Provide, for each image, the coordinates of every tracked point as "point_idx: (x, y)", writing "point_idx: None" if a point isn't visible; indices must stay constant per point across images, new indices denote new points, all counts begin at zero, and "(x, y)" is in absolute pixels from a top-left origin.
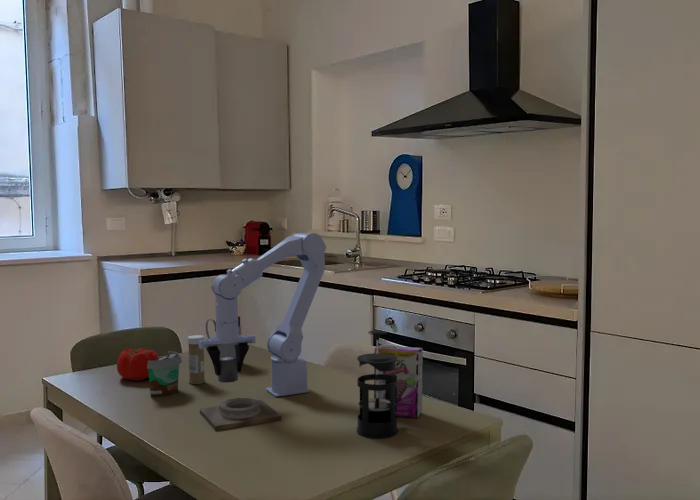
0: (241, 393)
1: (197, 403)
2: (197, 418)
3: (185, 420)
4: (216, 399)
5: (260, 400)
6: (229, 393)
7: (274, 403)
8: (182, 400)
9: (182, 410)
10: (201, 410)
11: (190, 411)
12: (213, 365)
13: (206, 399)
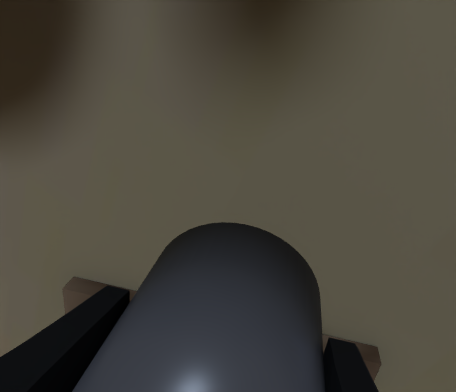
0: (414, 117)
1: (90, 143)
2: (54, 321)
3: (10, 312)
4: (208, 139)
5: (367, 368)
6: (344, 62)
7: (430, 380)
8: (19, 27)
9: (7, 200)
10: (65, 311)
11: (39, 235)
12: (35, 336)
13: (155, 101)
